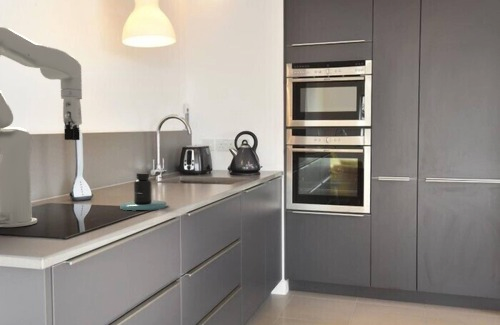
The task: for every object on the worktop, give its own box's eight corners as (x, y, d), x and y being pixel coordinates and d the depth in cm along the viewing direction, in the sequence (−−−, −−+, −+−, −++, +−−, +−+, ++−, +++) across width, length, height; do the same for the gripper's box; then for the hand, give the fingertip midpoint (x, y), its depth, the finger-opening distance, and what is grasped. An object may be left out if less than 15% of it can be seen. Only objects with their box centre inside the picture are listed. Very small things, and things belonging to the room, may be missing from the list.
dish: (150, 211, 187) (150, 207, 187) (110, 209, 194) (110, 205, 194) (175, 205, 204) (175, 201, 204) (137, 203, 210) (137, 199, 210)
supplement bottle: (134, 205, 195) (133, 174, 194) (133, 202, 201) (133, 172, 200) (152, 204, 196) (151, 173, 196) (151, 201, 203) (150, 172, 202)
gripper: (76, 92, 183) (77, 139, 184) (86, 96, 201) (87, 140, 201) (55, 92, 183) (56, 139, 183) (66, 96, 200) (67, 140, 200)
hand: (72, 139), depth 192 cm, fingers open, 9 cm apart
